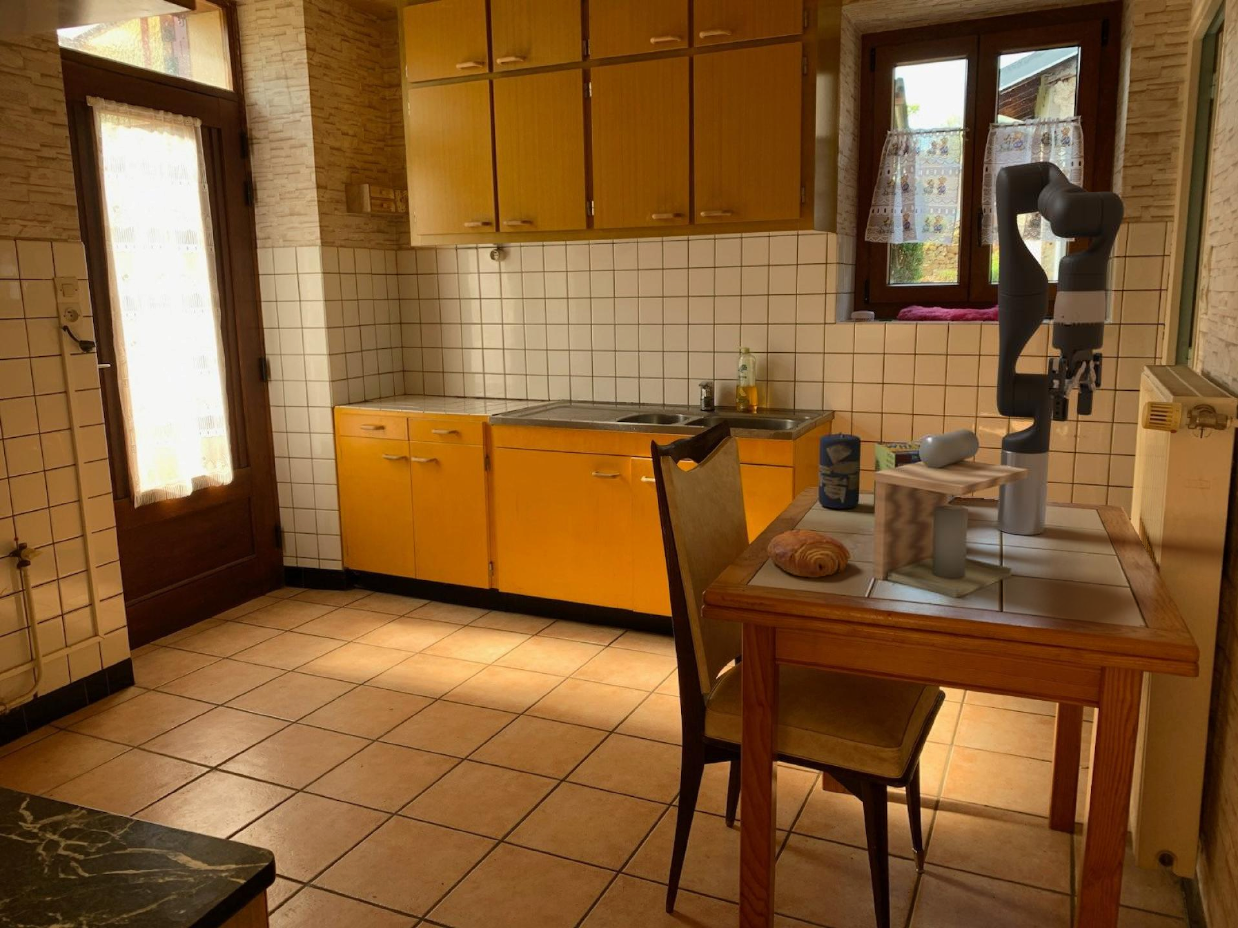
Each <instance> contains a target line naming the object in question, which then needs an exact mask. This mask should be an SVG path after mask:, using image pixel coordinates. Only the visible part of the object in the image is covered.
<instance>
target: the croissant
mask: <svg viewBox="0 0 1238 928" xmlns="http://www.w3.org/2000/svg"><path fill="white" fill-rule="evenodd" d="M767 555H768V557H769V558H770V560H771V561H772V562H774V564H776V565H777V566H778V567H779V568H781V569H782V570H783V571H785V572H787V573H789V574H791V575H794V576H798V577H808V578H812V579H813V578H821V577H826V576H831V575H833V574H834V573H840V572H844V570H845V569H846V568H847V566H848V562H849V561H848V560H850V558H851V554H850V552H849V550H848V549H847V548H846V546H845V545H844V544H843V543H842V542H840V541H839V540H837V539H835V538H833V537H831V536H829V535H827V534H824V533H819V532H816V531H814V530H809V529H804V528H802V529H795V530H787V531H785V532H783V533H781V534H778V535H775V537H774V538H772V539H771V541H770V542H769V544H768V547H767Z"/></svg>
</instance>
